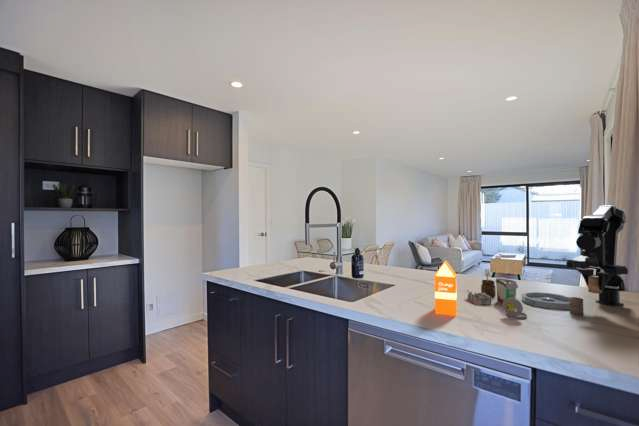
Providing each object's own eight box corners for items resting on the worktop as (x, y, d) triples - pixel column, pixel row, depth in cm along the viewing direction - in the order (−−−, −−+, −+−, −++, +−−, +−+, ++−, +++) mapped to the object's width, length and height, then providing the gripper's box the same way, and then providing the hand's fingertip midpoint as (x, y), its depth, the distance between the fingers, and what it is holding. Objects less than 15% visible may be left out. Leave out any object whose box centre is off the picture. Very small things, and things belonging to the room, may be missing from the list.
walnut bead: (575, 312, 120) (575, 296, 120) (586, 315, 116) (586, 299, 116) (567, 313, 119) (566, 297, 119) (577, 316, 115) (577, 300, 115)
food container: (523, 309, 124) (523, 284, 124) (506, 308, 125) (506, 284, 125) (511, 301, 136) (510, 278, 136) (496, 300, 137) (495, 278, 138)
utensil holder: (482, 296, 144) (481, 270, 144) (480, 293, 150) (479, 268, 150) (496, 297, 142) (496, 271, 142) (494, 294, 148) (493, 269, 148)
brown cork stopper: (594, 290, 123) (593, 275, 123) (605, 293, 119) (604, 277, 119) (585, 291, 122) (585, 275, 122) (596, 293, 118) (596, 277, 118)
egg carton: (466, 298, 142) (465, 289, 142) (483, 299, 141) (483, 290, 141) (475, 305, 132) (474, 295, 132) (493, 305, 131) (493, 295, 131)
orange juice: (457, 309, 125) (456, 260, 125) (456, 316, 117) (455, 263, 117) (436, 307, 128) (435, 259, 128) (434, 313, 120) (433, 262, 120)
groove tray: (547, 296, 144) (547, 291, 144) (587, 307, 125) (587, 301, 125) (512, 298, 140) (512, 293, 140) (548, 310, 122) (548, 304, 122)
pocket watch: (524, 314, 118) (523, 288, 118) (531, 321, 110) (530, 293, 110) (499, 312, 121) (499, 286, 121) (504, 319, 113) (504, 291, 113)
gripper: (554, 246, 128) (555, 284, 128) (603, 251, 110) (603, 296, 110) (577, 246, 130) (578, 283, 130) (628, 251, 112) (629, 294, 112)
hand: (595, 288), depth 120 cm, fingers closed on brown cork stopper, 4 cm apart
